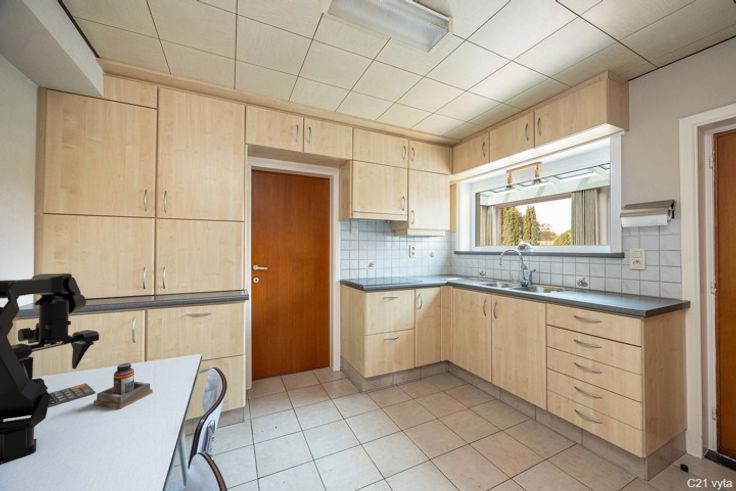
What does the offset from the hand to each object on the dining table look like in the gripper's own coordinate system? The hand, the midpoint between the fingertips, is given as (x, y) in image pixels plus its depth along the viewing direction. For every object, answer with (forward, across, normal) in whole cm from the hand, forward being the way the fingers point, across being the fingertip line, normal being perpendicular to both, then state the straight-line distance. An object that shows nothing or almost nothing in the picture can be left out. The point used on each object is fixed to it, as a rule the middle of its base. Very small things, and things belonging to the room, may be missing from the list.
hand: (52, 374), depth 82 cm
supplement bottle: (+12, -15, +4) cm, 20 cm away
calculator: (+14, -8, -16) cm, 23 cm away
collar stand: (+13, -16, +4) cm, 21 cm away
